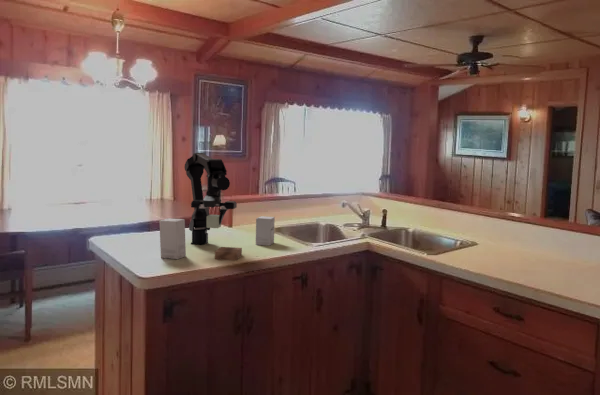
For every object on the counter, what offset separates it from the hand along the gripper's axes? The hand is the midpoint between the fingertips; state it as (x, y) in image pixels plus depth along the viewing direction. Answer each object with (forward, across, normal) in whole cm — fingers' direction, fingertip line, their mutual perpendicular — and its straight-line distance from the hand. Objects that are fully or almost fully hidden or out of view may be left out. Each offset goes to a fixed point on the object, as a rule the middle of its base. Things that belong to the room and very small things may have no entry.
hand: (213, 224), depth 200 cm
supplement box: (+12, +19, +20) cm, 30 cm away
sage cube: (+1, 0, 0) cm, 1 cm away
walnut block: (+12, +9, -9) cm, 18 cm away
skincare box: (+12, -13, -14) cm, 23 cm away
